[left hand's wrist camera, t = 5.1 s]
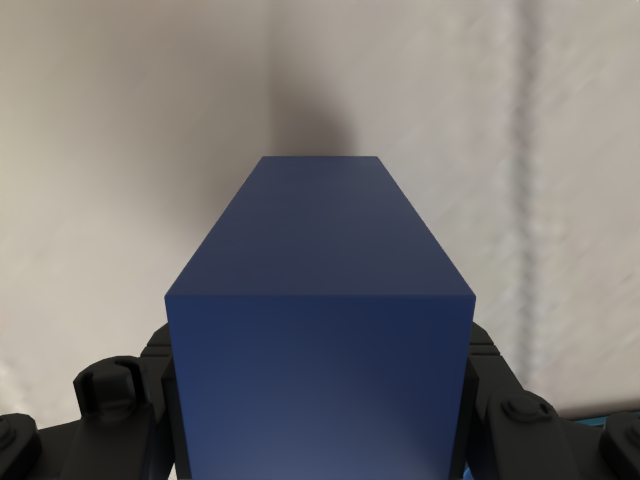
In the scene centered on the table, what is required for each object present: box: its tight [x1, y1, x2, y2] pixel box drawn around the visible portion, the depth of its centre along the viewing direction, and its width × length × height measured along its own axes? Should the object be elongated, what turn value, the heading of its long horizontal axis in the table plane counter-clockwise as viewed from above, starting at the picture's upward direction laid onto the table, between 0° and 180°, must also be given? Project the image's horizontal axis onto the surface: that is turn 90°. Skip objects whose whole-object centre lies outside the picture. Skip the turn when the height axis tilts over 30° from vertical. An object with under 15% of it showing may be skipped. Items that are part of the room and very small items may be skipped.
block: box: [164, 156, 476, 480], centre depth 13 cm, size 8×5×12 cm, turn 0°
